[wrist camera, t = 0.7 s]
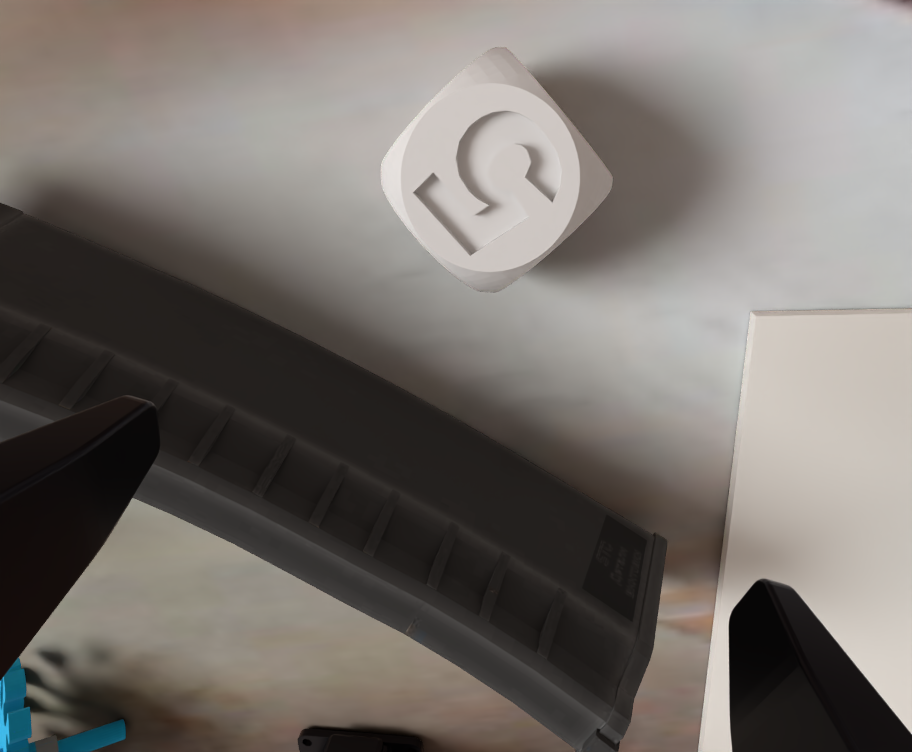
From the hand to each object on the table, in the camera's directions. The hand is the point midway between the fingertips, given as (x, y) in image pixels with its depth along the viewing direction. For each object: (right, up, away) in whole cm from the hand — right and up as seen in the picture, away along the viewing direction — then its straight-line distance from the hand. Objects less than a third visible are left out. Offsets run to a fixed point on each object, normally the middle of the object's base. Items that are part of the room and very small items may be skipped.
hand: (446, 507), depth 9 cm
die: (+2, +9, +12) cm, 15 cm away
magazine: (-6, +2, +16) cm, 17 cm away
